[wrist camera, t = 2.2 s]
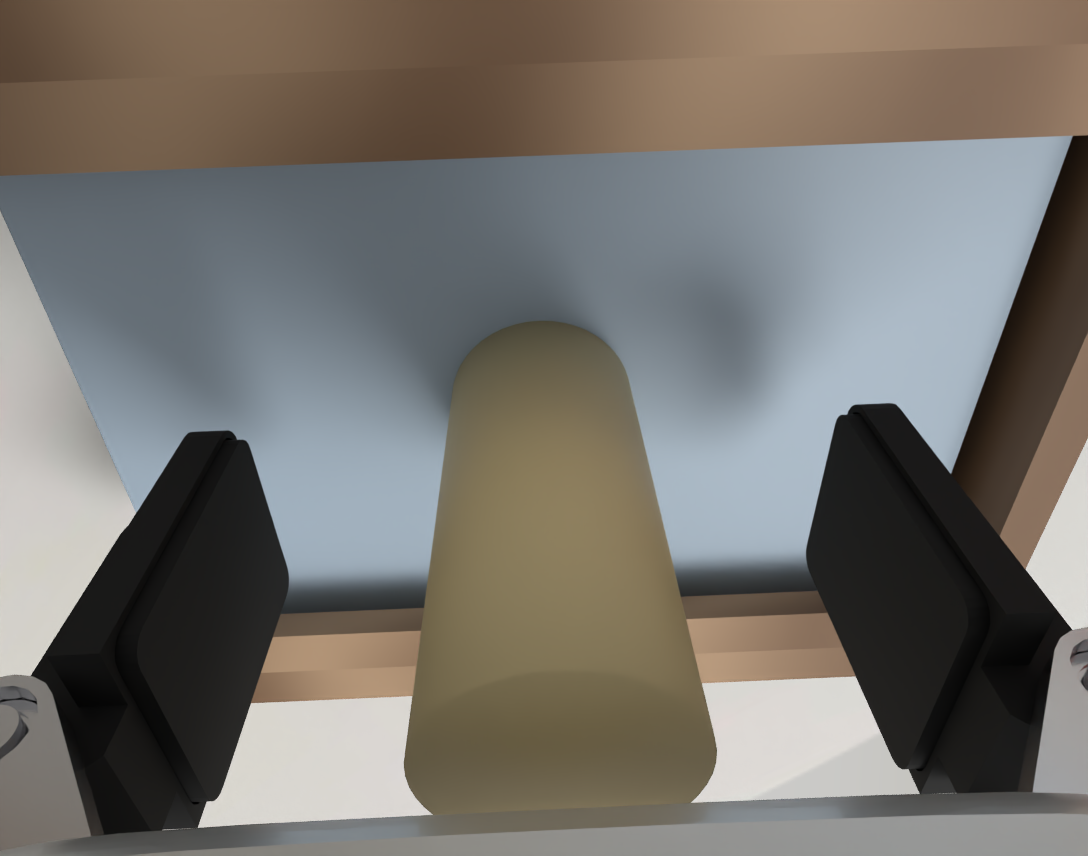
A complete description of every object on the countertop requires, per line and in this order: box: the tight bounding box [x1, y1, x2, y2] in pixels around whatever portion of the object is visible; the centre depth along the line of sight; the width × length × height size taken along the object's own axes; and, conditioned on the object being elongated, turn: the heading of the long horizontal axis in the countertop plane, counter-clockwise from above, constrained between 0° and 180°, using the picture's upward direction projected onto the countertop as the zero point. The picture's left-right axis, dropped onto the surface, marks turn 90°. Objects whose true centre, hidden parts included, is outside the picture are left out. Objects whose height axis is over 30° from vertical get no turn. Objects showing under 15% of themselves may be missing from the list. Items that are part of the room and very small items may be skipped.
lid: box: [0, 136, 1073, 815], centre depth 11 cm, size 16×11×8 cm
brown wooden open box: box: [0, 0, 1088, 703], centre depth 15 cm, size 19×13×7 cm
